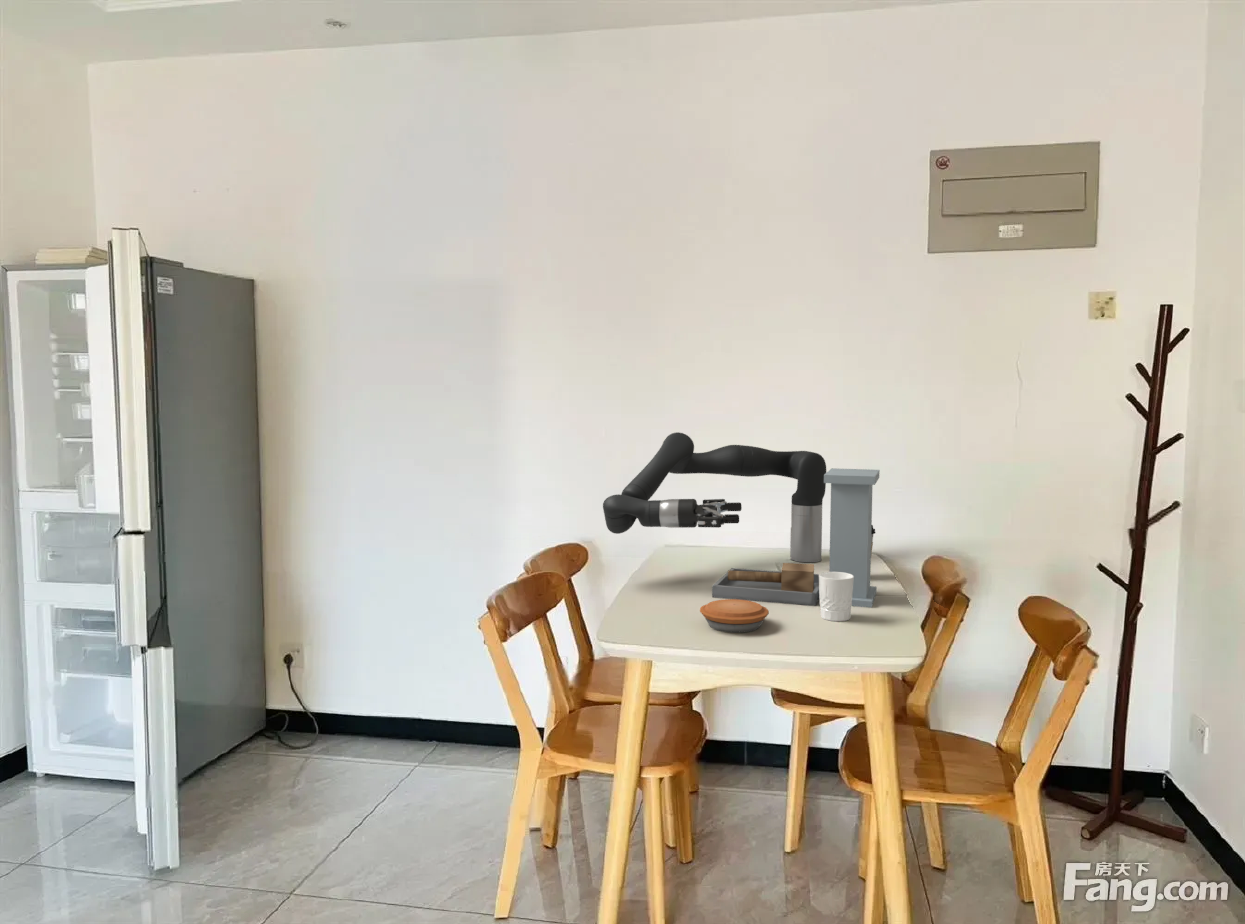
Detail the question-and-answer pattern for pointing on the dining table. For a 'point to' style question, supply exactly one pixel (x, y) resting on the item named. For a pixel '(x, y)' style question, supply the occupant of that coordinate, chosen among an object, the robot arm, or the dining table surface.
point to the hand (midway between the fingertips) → (740, 512)
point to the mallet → (781, 577)
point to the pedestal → (852, 528)
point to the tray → (763, 590)
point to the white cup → (835, 595)
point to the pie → (734, 615)
